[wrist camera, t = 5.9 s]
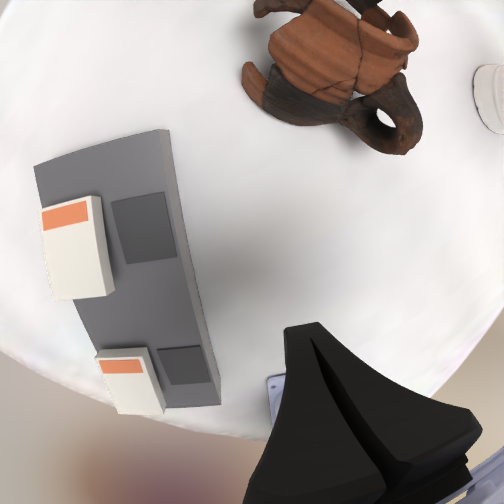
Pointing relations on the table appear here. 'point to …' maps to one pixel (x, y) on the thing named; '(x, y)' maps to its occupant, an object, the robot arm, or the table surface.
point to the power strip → (141, 261)
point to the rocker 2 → (131, 381)
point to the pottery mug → (340, 71)
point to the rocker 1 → (76, 249)
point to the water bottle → (490, 96)
